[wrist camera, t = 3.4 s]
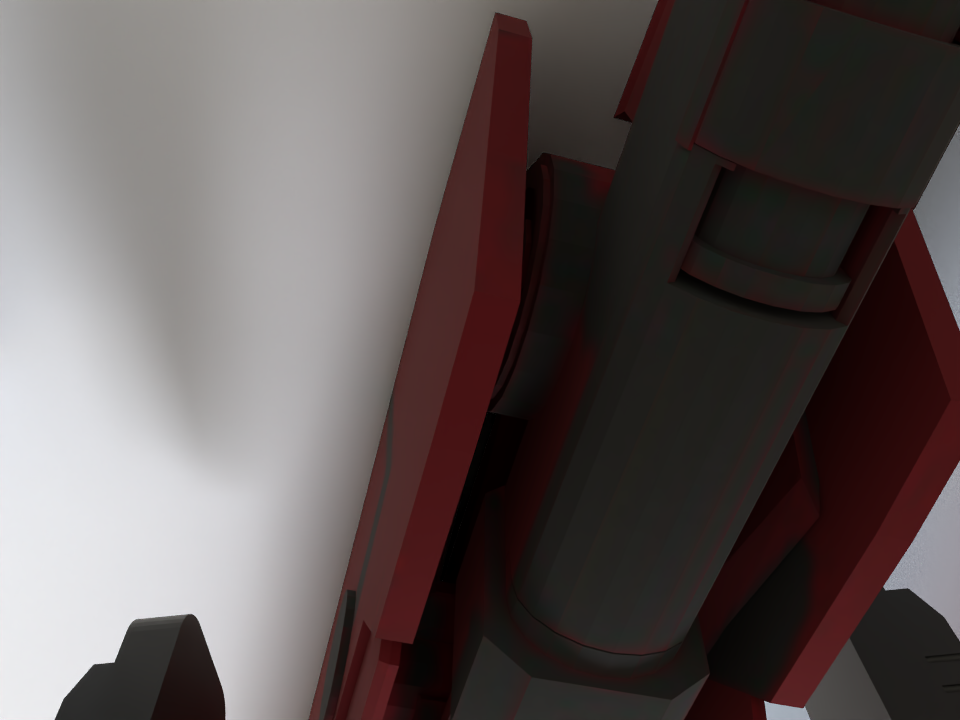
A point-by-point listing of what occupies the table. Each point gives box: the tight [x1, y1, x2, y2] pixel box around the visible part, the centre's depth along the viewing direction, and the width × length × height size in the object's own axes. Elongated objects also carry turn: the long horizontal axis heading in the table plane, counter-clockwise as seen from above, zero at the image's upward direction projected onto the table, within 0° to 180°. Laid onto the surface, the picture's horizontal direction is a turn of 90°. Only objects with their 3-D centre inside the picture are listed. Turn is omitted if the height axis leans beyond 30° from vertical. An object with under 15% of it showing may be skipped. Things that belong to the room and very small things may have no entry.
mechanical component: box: [309, 0, 960, 720], centre depth 12 cm, size 23×4×6 cm, turn 165°
